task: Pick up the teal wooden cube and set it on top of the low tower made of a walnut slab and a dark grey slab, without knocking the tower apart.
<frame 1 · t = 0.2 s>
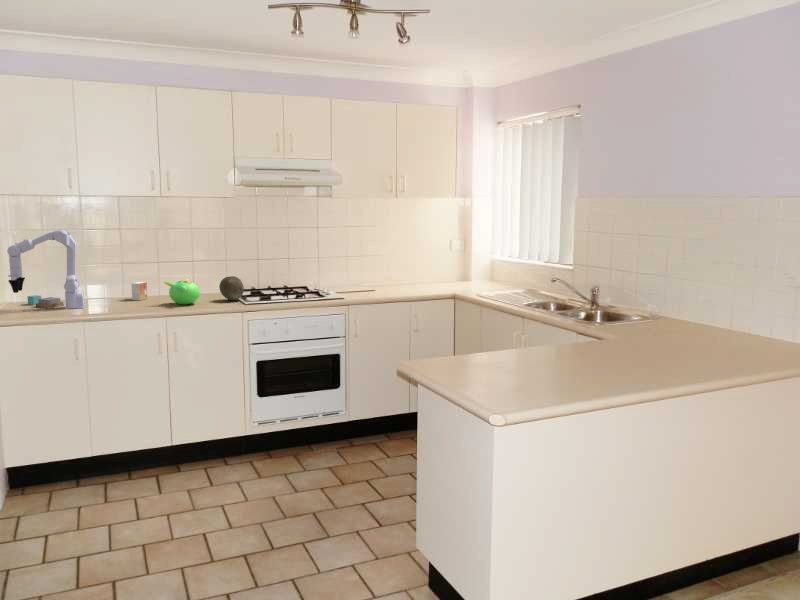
hand: (17, 291, 377), 10 cm above the countertop, fingers open, 7 cm apart
teal block: (34, 304, 395), on the countertop
walnut base slab: (49, 307, 390), on the countertop
toy bird: (184, 304, 401), on the countertop
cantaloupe: (232, 301, 416), on the countertop
small box: (139, 300, 416), on the countertop
grey top slab: (49, 302, 389), point 2 cm above the countertop
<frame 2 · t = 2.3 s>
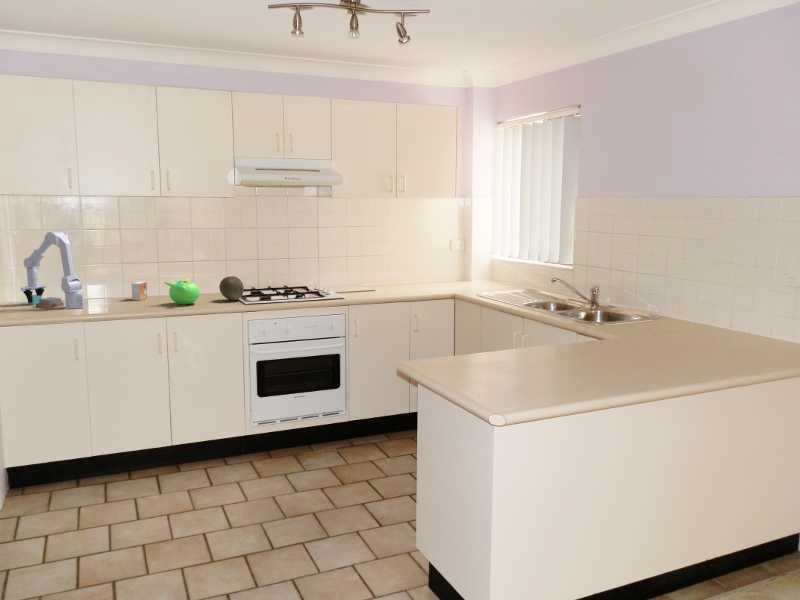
hand: (34, 301, 395), 1 cm above the countertop, fingers closed on teal block, 5 cm apart
teal block: (34, 304, 395), on the countertop, touching gripper
walnut base slab: (49, 307, 390), on the countertop, touching grey top slab
grey top slab: (50, 302, 390), point 2 cm above the countertop, touching walnut base slab
everything else where it was.
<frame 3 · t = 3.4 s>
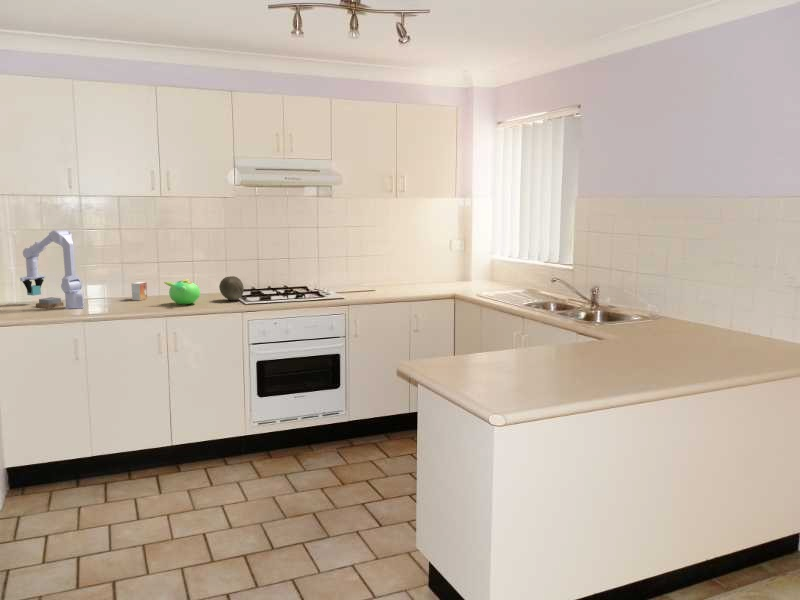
hand: (34, 292, 394), 7 cm above the countertop, fingers closed on teal block, 5 cm apart
teal block: (34, 294, 394), point 6 cm above the countertop, touching gripper
everything else where it was.
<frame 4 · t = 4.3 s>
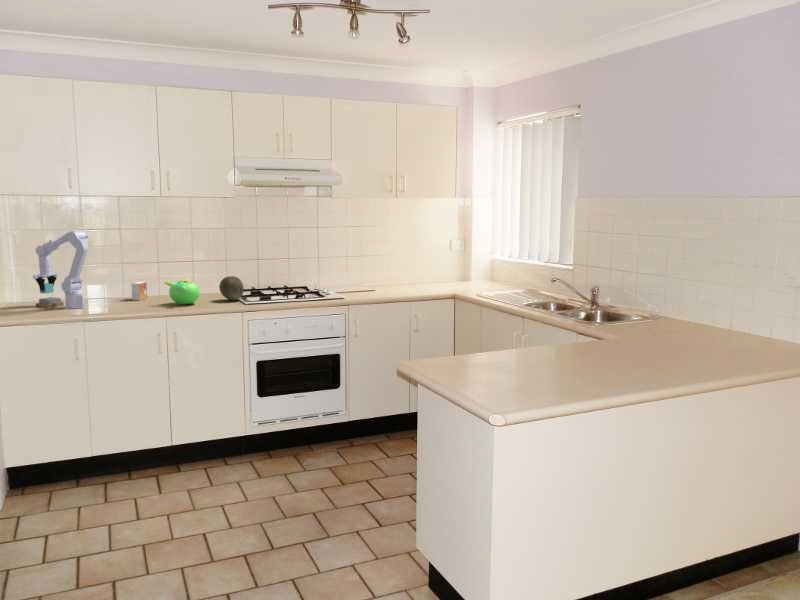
hand: (46, 290, 389), 9 cm above the countertop, fingers closed on teal block, 5 cm apart
teal block: (46, 292, 389), point 8 cm above the countertop, touching gripper
everything else where it was.
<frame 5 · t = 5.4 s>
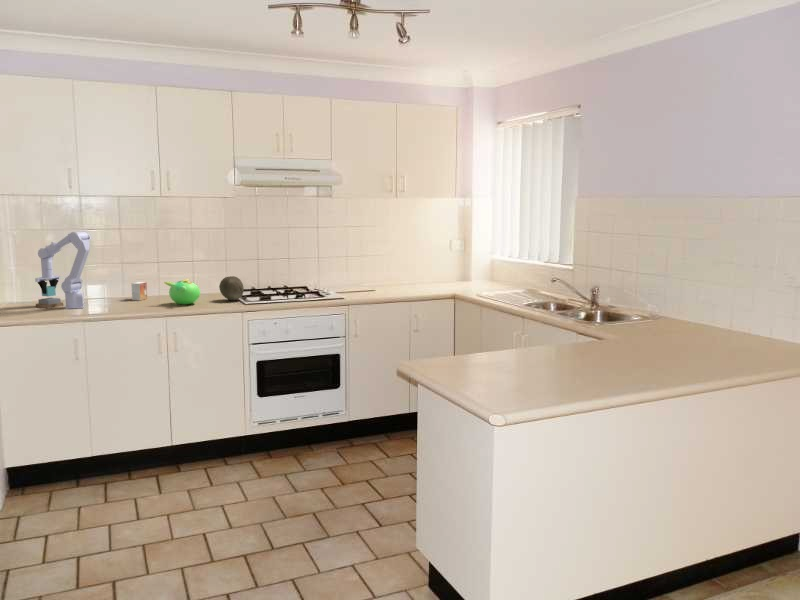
hand: (48, 293, 389), 8 cm above the countertop, fingers closed on teal block, 5 cm apart
teal block: (48, 295, 389), point 6 cm above the countertop, touching gripper
walnut base slab: (49, 307, 390), on the countertop
grey top slab: (49, 303, 389), point 2 cm above the countertop
everything else where it was.
when the fingers open (8 cm above the countertop, at t = 5.8 s): teal block drops 2 cm, point 4 cm above the countertop.
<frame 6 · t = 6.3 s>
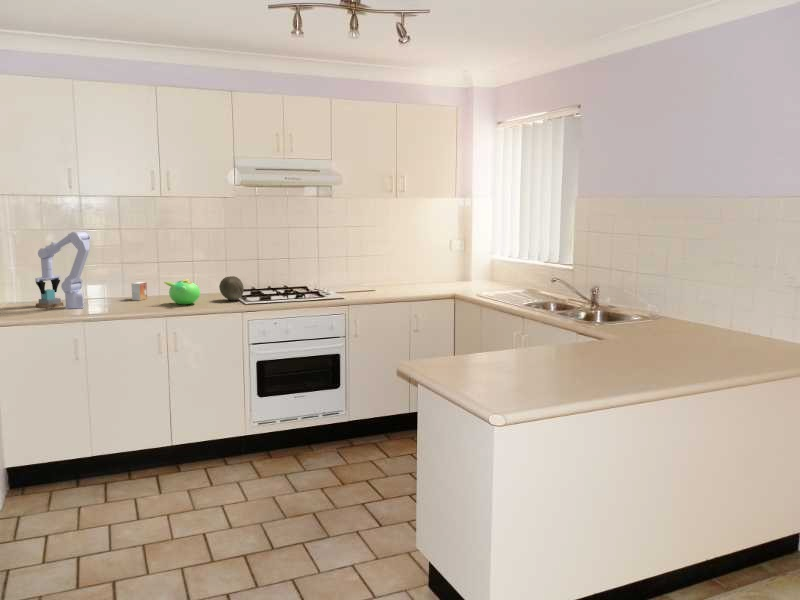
hand: (48, 293, 389), 8 cm above the countertop, fingers open, 7 cm apart
teal block: (48, 298, 389), point 4 cm above the countertop
walnut base slab: (49, 307, 390), on the countertop, touching grey top slab
grey top slab: (49, 303, 389), point 2 cm above the countertop, touching walnut base slab
everything else where it was.
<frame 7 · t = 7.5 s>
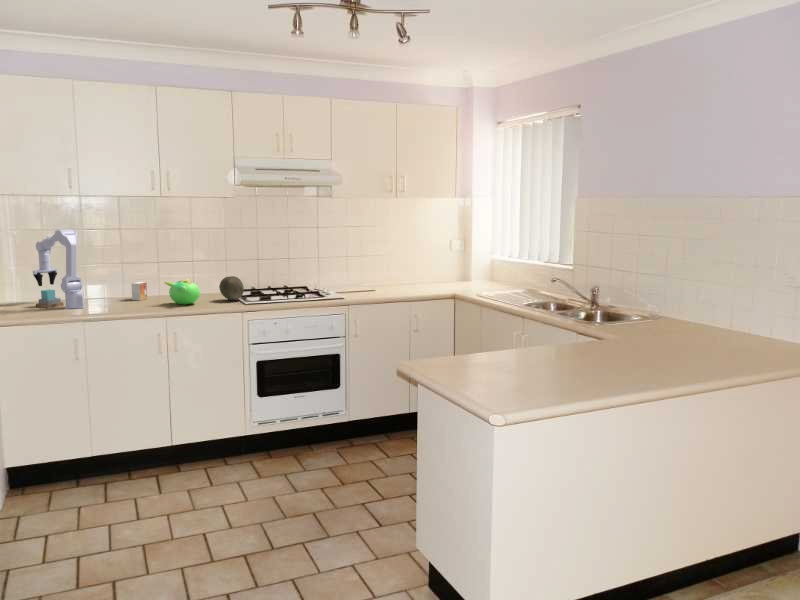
hand: (46, 285, 398), 11 cm above the countertop, fingers open, 7 cm apart
nothing on the countertop moved.
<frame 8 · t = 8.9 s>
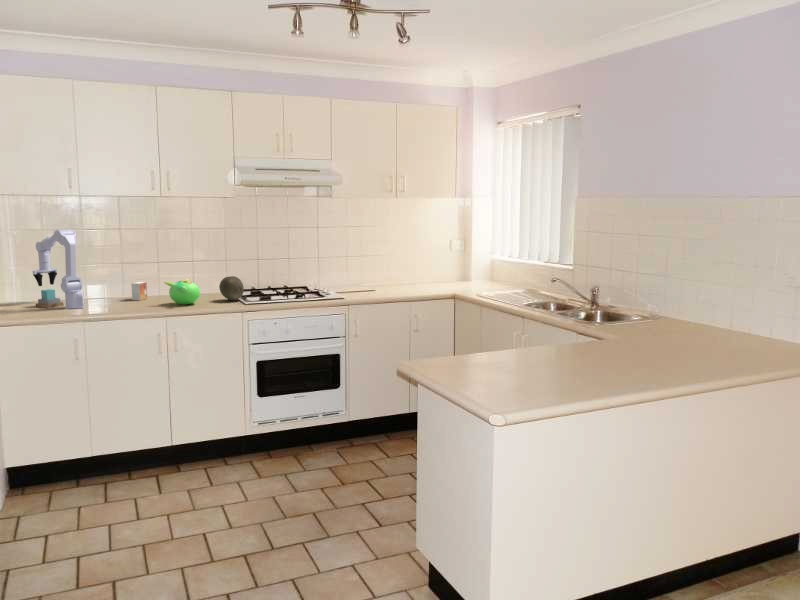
hand: (46, 285, 399), 10 cm above the countertop, fingers open, 7 cm apart
nothing on the countertop moved.
at the end: teal block 0.2 cm off-centre on the walnut base slab, point 5.0 cm above the walnut base slab's base; grey top slab 0.1 cm off-centre on the walnut base slab, point 2.5 cm above the walnut base slab's base; teal block tilted 0° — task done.
